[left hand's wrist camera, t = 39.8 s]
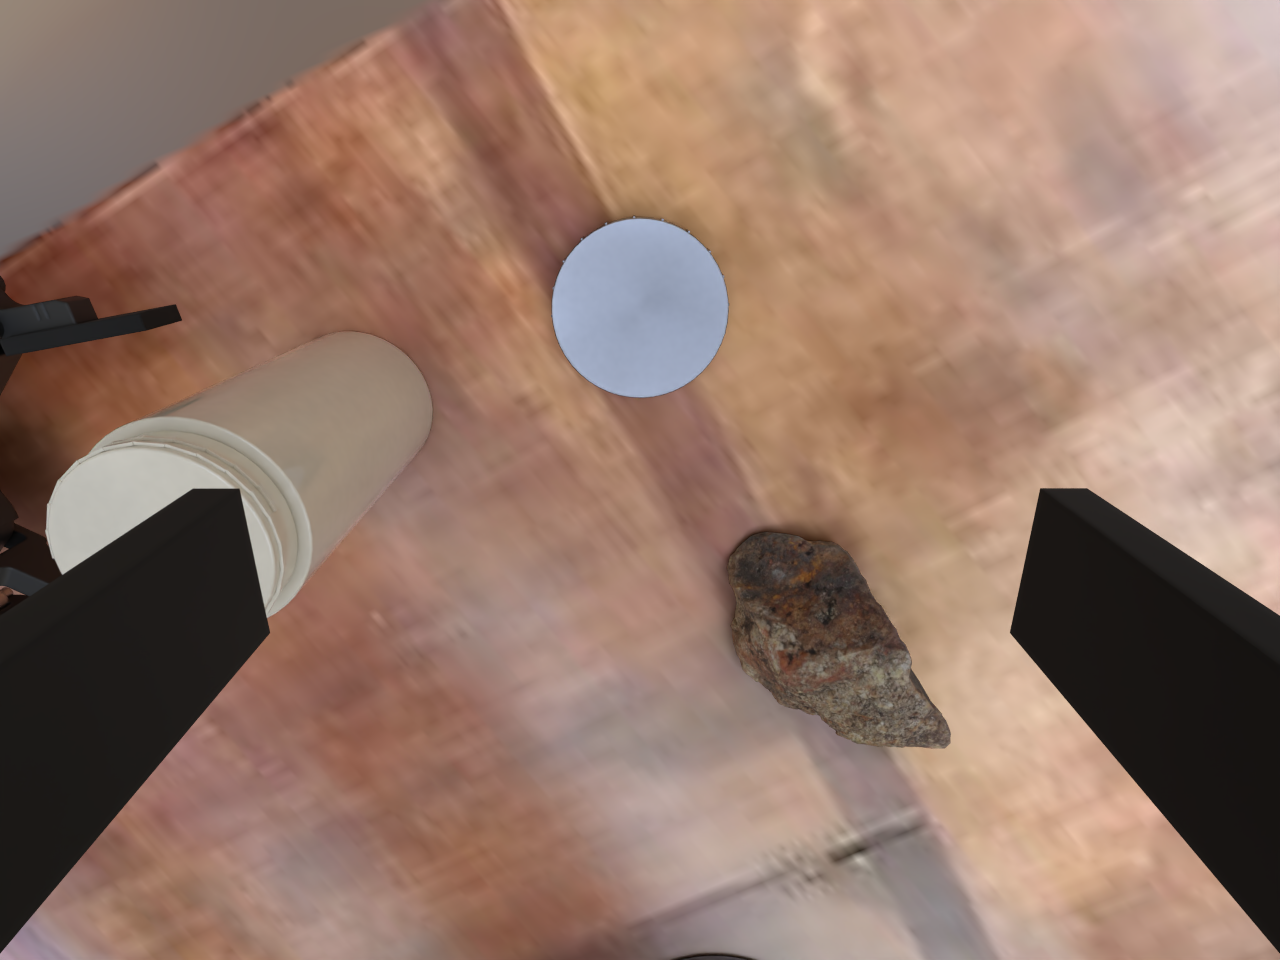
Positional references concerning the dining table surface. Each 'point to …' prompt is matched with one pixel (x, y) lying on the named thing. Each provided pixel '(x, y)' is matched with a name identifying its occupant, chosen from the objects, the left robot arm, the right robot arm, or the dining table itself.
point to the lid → (640, 307)
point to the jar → (260, 457)
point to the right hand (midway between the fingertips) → (219, 457)
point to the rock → (827, 643)
